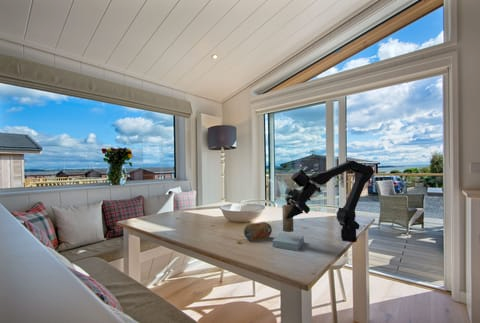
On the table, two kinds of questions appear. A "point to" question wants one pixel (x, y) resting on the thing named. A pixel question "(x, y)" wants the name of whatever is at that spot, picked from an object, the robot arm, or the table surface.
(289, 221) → the walnut column
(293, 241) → the slate plinth
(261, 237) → the tin
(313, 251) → the table surface
